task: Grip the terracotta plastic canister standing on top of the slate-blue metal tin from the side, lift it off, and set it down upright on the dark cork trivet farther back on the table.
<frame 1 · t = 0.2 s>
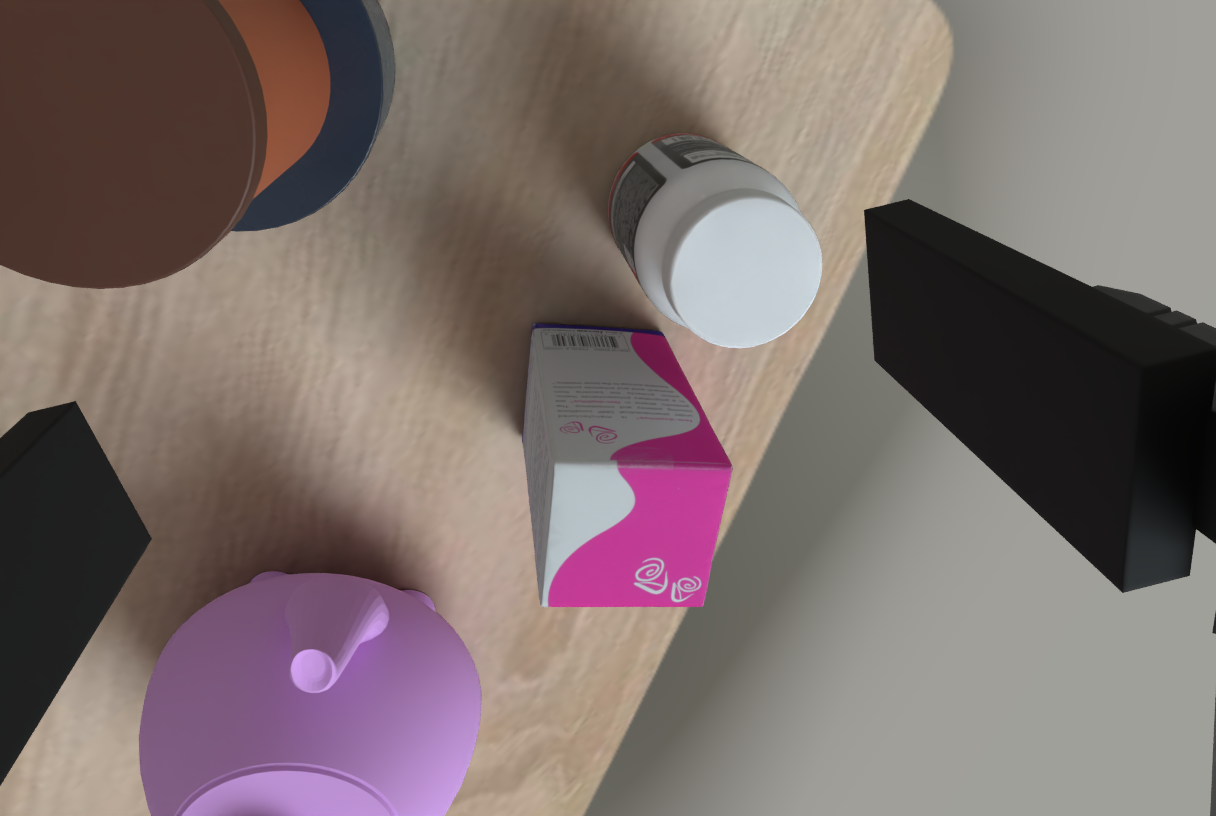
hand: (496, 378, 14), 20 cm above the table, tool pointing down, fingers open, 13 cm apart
teapot: (337, 635, 41), on the table
canister: (215, 70, 25), point 6 cm above the table, touching tin
pill bottle: (675, 203, 34), on the table
tin: (263, 57, 30), on the table, touching canister
supplement box: (591, 386, 37), on the table
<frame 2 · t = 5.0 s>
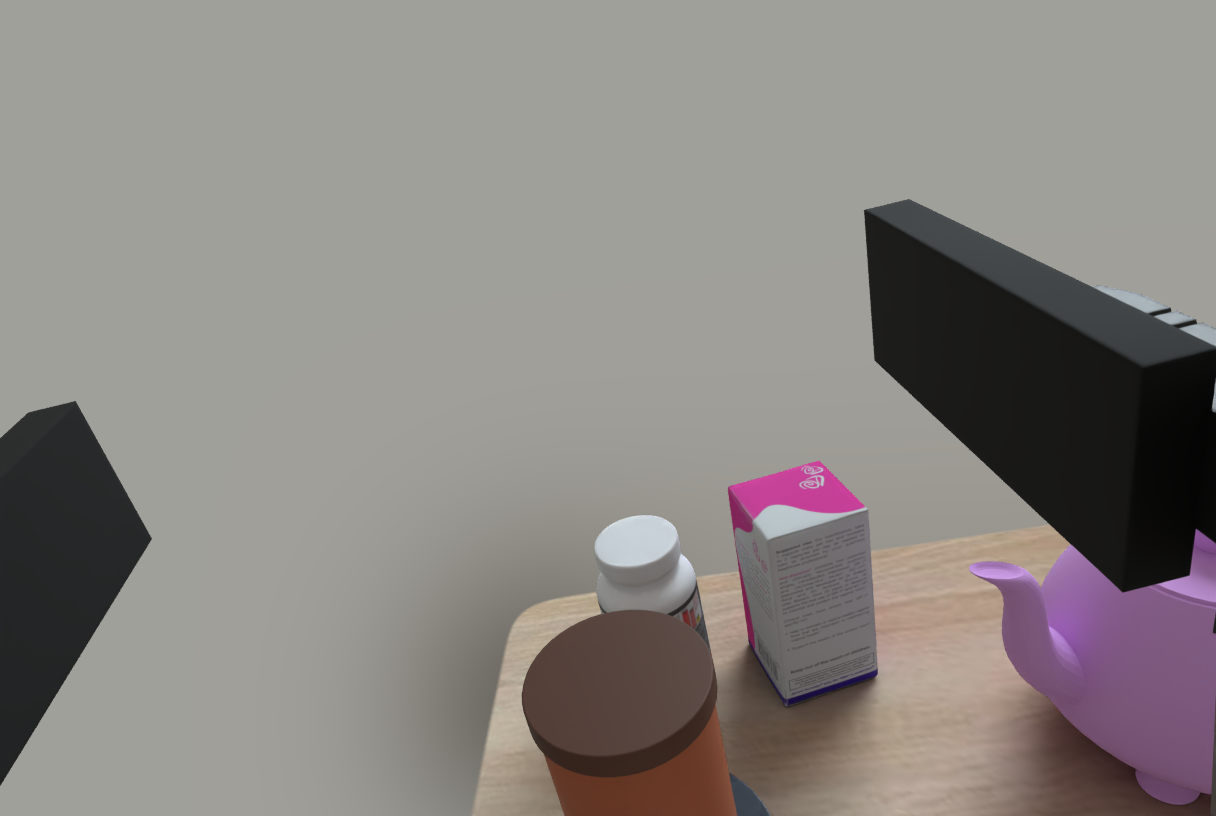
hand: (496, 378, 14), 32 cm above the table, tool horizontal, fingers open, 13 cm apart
teapot: (1169, 722, 42), on the table
pill bottle: (666, 674, 51), on the table
supplement box: (811, 660, 50), on the table
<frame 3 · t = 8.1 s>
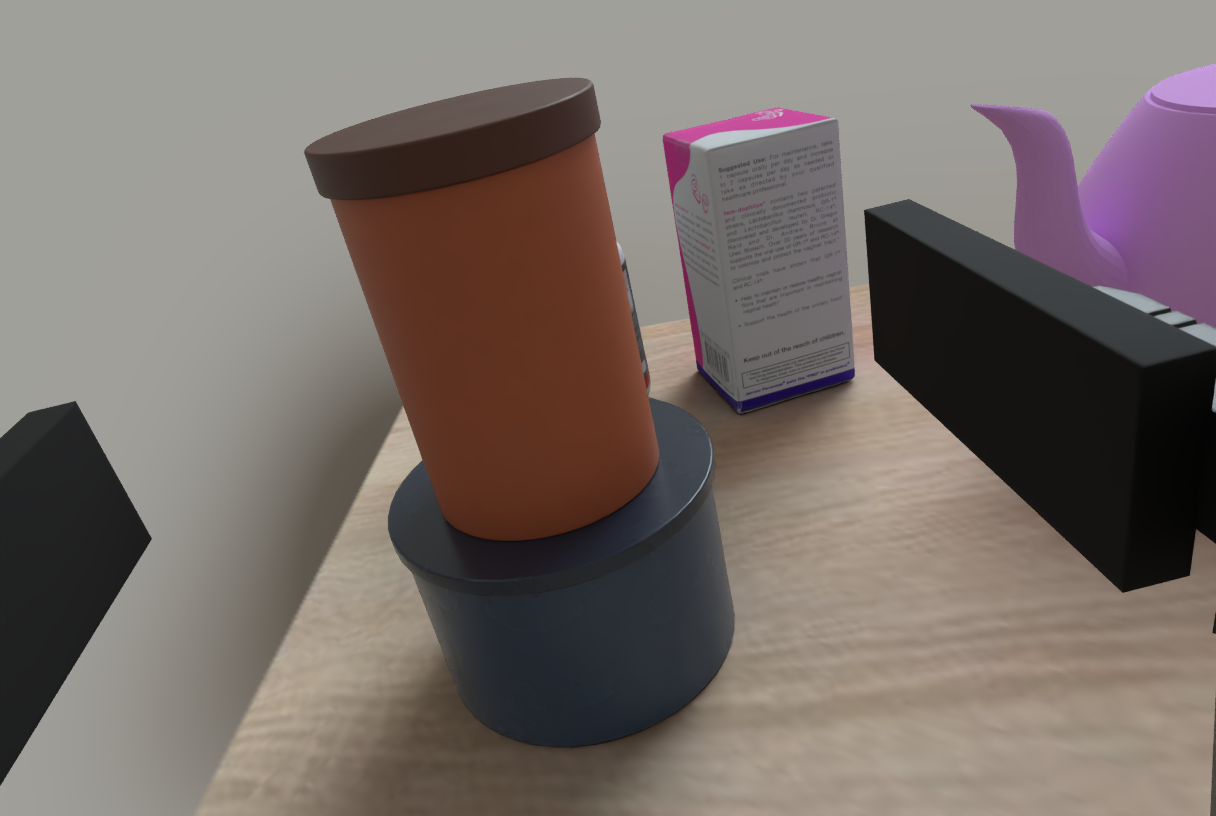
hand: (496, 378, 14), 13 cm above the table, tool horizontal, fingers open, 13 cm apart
canister: (548, 472, 24), point 6 cm above the table, touching tin
pill bottle: (595, 405, 41), on the table
tin: (592, 630, 27), on the table, touching canister
supplement box: (773, 377, 40), on the table
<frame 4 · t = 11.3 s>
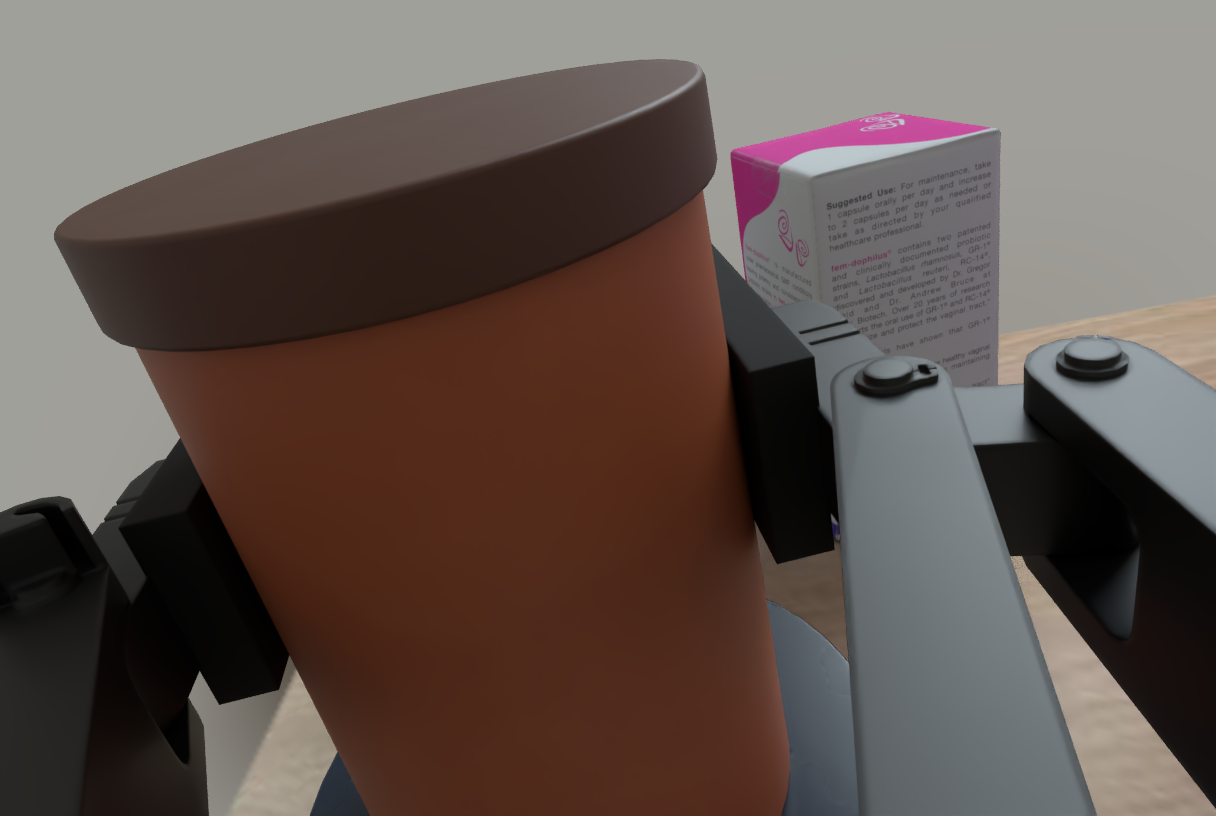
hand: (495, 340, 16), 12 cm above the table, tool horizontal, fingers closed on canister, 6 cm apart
canister: (588, 762, 14), point 6 cm above the table, touching gripper, tin
supplement box: (875, 478, 29), on the table
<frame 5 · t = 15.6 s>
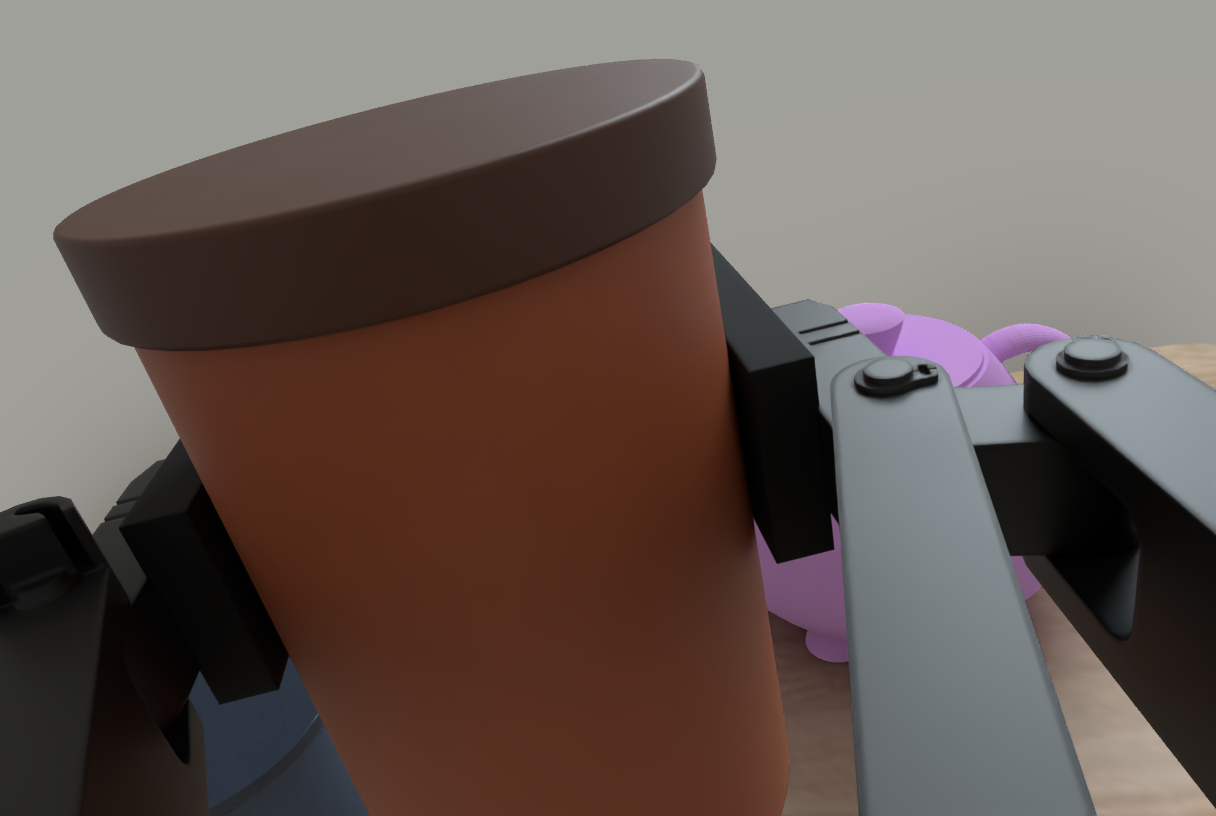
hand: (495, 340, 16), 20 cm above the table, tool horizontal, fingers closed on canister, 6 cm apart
teapot: (862, 584, 37), on the table
canister: (588, 762, 14), point 15 cm above the table, touching gripper
when the fingers open (6 cm above the table, at t = 20.2 s): canister stays where it is, resting on trivet.
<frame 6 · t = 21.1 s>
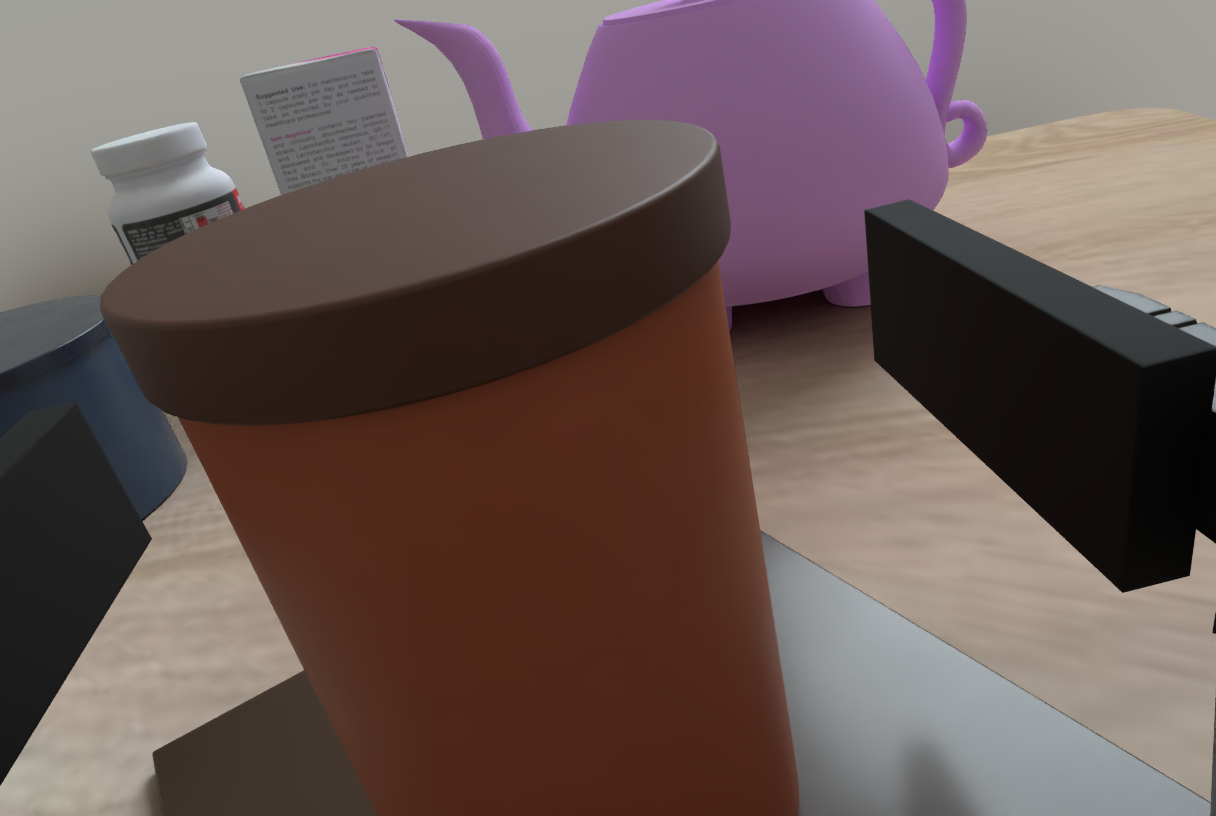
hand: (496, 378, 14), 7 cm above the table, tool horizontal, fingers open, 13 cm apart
teapot: (737, 295, 34), on the table
canister: (602, 791, 14), resting on trivet
pill bottle: (234, 337, 43), on the table
tin: (50, 513, 29), on the table
trivet: (604, 806, 14), on the table
supplement box: (394, 308, 42), on the table
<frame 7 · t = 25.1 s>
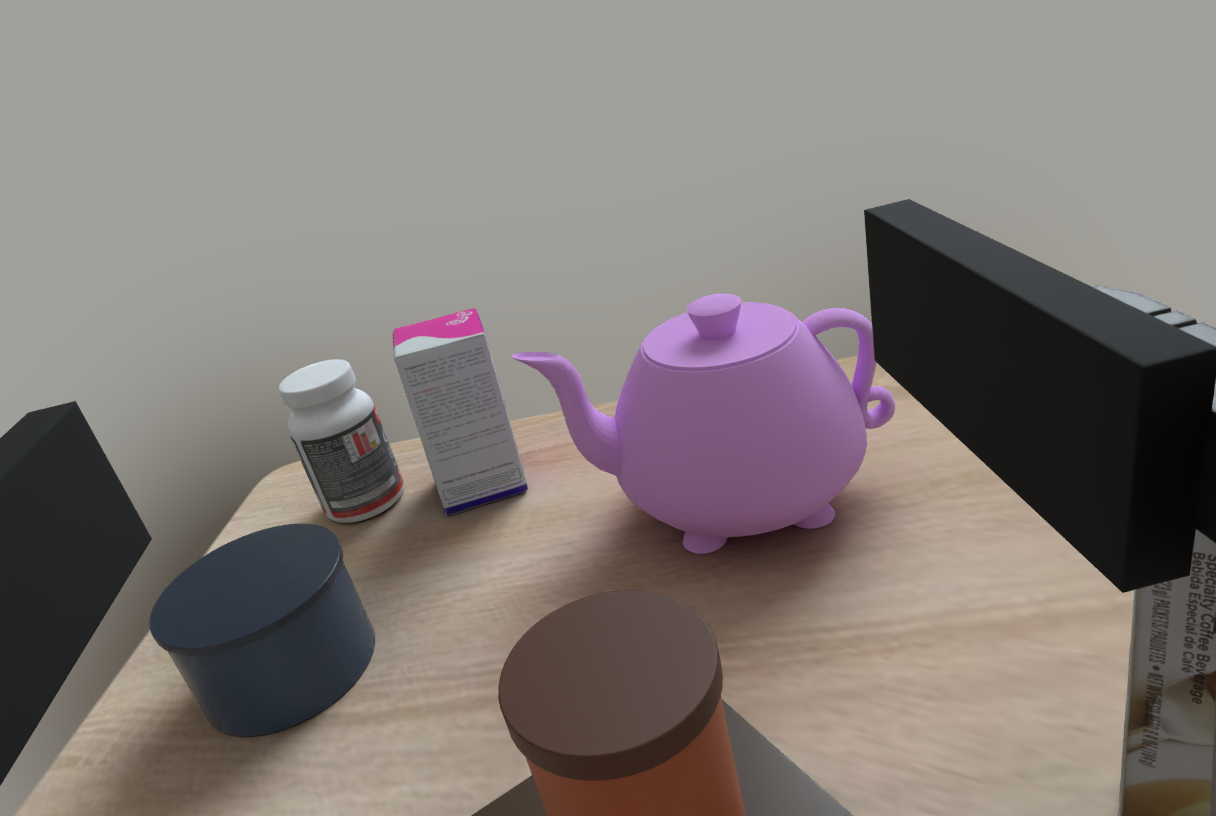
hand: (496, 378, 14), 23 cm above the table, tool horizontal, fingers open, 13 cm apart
teapot: (731, 504, 50), on the table
pill bottle: (367, 503, 59), on the table
tin: (291, 668, 45), on the table
supplement box: (485, 485, 58), on the table
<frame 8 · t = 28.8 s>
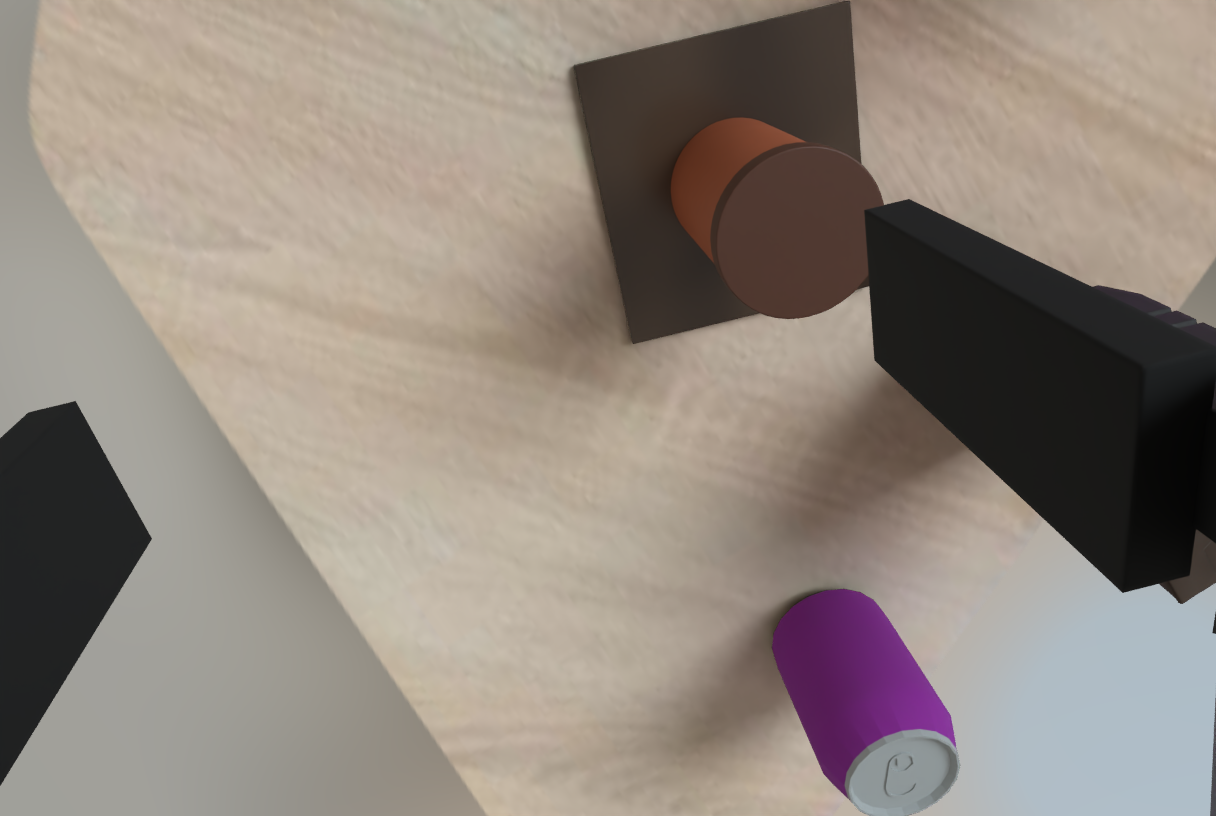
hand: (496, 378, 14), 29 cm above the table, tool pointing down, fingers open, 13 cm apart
canister: (734, 185, 42), resting on trivet
coffee box: (999, 350, 49), on the table
beverage can: (823, 626, 56), on the table
trivet: (731, 183, 42), on the table
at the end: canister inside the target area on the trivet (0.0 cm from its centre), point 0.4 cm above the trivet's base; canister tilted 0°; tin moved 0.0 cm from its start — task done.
